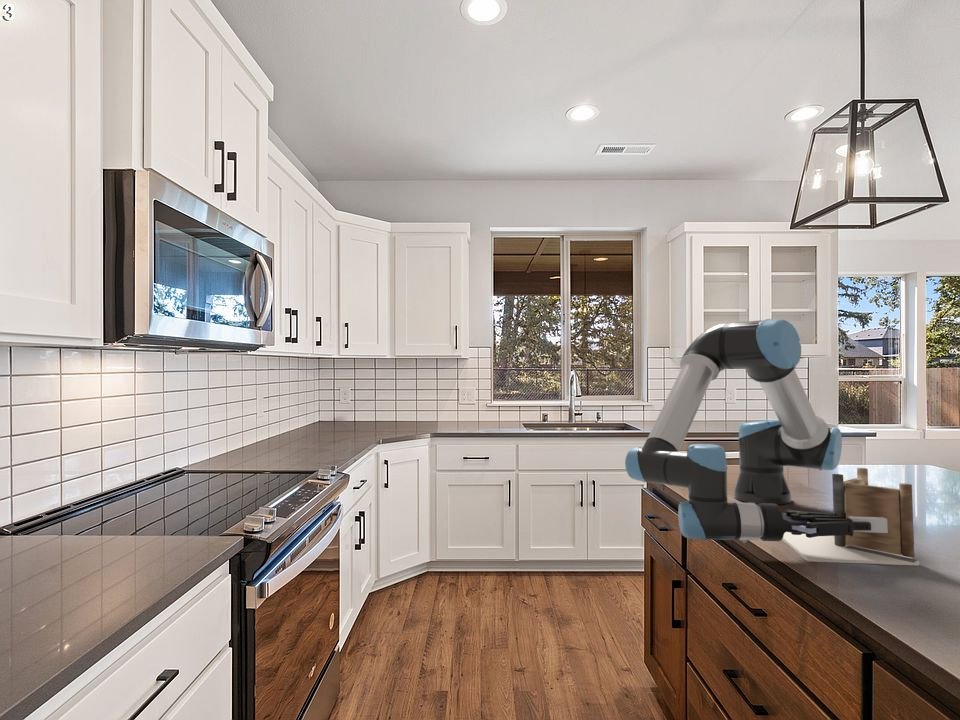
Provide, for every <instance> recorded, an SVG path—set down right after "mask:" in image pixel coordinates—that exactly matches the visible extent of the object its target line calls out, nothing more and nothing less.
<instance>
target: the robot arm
mask: <svg viewBox="0 0 960 720" xmlns="http://www.w3.org/2000/svg"><path fill="white" fill-rule="evenodd" d="M800 340H801V339H800V336H799V333H798V331H797V329H796V328H795V326H794V324H792V323H791V322H789V321H787V320H785V319H772V318H767V319H763V320H751V321H750V320H749V321H739V322H726V323H725V322H724V323H719V324H715V325H714V326H711V327H710V328H707V330H706V329H705V331H704V332H703V333H701V334H700V335H698V336H697V337H696V338H695V339H694V340H693V341H692V343H691V344H690V345H688V347H687V348H686V350H685V351H684V353H683V355H682V357H681V359H680V362H679V366H680V370H679V372H678V375H677V377H676V379H675V382H674V383H673V385H672V387H671V389H670V392H669V393H668V395H667V398H666V400H665V401H664V403H663V406H662V407H661V410H660V411H659V413H658V416H657V418H656V420H655V421H654V424H653V426H652V428H651V430H650V432H649V434H648V436H647V439H646V440H645V442H644V444H643V446H642V447H641V446H638V447H632V448H631V449H630V450H628V452H627V453H626V456H625V460H624V461H625V462H624V467H625V471H626V473H627V475H628V477H629V478H630V479H632V480H634V481H635V480H636V481H638V482H644V483H646V484H647V483H648V484H649V483H651V484H652V483H653V484H659V485H667V486H673V487H679V488H686V489H687V490H688V500H686V501H681V502H679V504H678V508H677V509H678V511H677V517H678V519H677V520H678V526H679V531H680V533H681V534H682V536H683V537H684V538H687V539H698V540H703V541H706V540H711V541H712V540H715V541H719V540H720V541H721V540H723V541H730V540H731V541H741V542H742V543H743V544H745V543H747V541H757V542H758V541H759V540H761V541H762V542H781V541H783V540H782V539H783V535H784V533H785V532H791V534H793V535H801V534H806V537H808V538H812V537H817V536H840V535H849V536H853V532H873V533H888V528H887V519H886V518H884V517H852V516H848V518H846V513H845V512H841V516H839V514H837V513H834V512H833V513H831V512H817V511H805V510H804V511H803V510H792V509H784V512H782V509H781V508H780V506H779V505H786V504H790V503H792V493H791V490H790V488H789V485H788V482H787V480H786V476H785V473H784V472H785V471H784V467H791V468H792V467H794V468H801V469H810V470H819V471H833V470H835V469H837V467H838V466H839V464H840V462H841V461H840V460H841V455H842V450H843V449H842V447H843V446H842V445H843V444H842V443H843V439H842V437H843V436H842V431H841V429H840V428H838V427H834V426H832V427H829V425H828V424H827V422H826V421H825V420H824V419H823V418H821V417H820V416H818V415H816V413H815V411H814V408H813V407H812V404H811V402H810V400H809V398H808V395H807V394H806V391H805V389H804V387H803V384H802V382H801V379H800V378H799V376H798V373H797V372H796V368H797V365H798V364H799V362H800V360H801V357H802V344H801V343H800ZM723 370H745V371H746V374H747V375H748V377H749V378H750V379H751V380H753V381H754V382H756V383H759V384H760V386H761V389H762V390H763V392H764V394H765V396H766V397H767V400H768V402H769V404H770V406H771V407H772V409H773V410H772V411H774V413H775V415H776V417H777V419H769V420H759V421H752V422H751V421H750V422H744V423H742V424H740V425H739V427H738V438H737V439H738V451H739V452H738V453H739V473H738V477H737V480H736V483H735V486H734V490H733V491H734V492H733V497H734V498H735V499H736V500H738V501H742V502H728V465H727V457H726V456H727V455H726V450H725V448H724V447H723V446H721V445H719V444H712V443H692V444H690V445H688V447H687V450H686V451H680V450H681V447H682V445H684V444H683V443H684V442H685V439H686V436H687V435H688V433H689V430H690V428H691V426H692V424H693V421H694V419H695V417H696V415H697V413H698V410H699V408H700V406H701V404H702V401H703V399H704V397H705V396H706V395H705V394H706V393H707V391H708V388H709V386H710V384H711V382H712V381H714V380H716V379H717V378H718V377H719V374H720V372H722V371H723Z"/></svg>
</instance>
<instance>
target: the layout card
mask: <svg viewBox="0 0 960 720" xmlns="http://www.w3.org/2000/svg"><path fill="white" fill-rule="evenodd" d="M781 541H783V542H784V543H785V544H786V545H787V546H789V547H790V548H791V549H792V550H794V551H795V552H796V553H797V554H798V555H799V556H800V557H802V558H803V559H804V560H805V561H807V562H817V563H840V564H841V563H843V564H844V563H845V564H846V563H847V564H868V565H869V564H870V565H871V564H873V565H894V566H895V565H896V566H919V565H921V564H920V562H921V561H918V559H914V557H906V556H903V555H899V554H894V553H888V552H883V551H878V550H873V549H868V548H863V547H858V546H853V545H847V544H846V546H843V547H842V546H836V545H835V542H834V536H817V537H812V538H808V537H806V534H801V535H793V534H791V532H785V533H784V535H783V539H782V540H781Z"/></svg>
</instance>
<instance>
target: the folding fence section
mask: <svg viewBox="0 0 960 720" xmlns="http://www.w3.org/2000/svg"><path fill="white" fill-rule="evenodd" d="M845 487H846V488H845V494H846V517H847V518H848V516H852V517H884V518H886V519H887V528H888V533H873V532H853V536H849V535H847V545H853V546H858V547H863V548H868V549H873V550H878V551H883V552H888V553H894V554H899V555H903V556H906V557H911V558H915V535H914V534H915V533H914V510H913V509H914V508H913V505H914V504H913V484H910V483H899V485H898V487H899V488H893V487H883V486H876V485H870V484H868V485H861V484H853V483H846V484H845Z"/></svg>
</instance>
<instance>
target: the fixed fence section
mask: <svg viewBox="0 0 960 720" xmlns="http://www.w3.org/2000/svg"><path fill="white" fill-rule="evenodd" d="M868 469H869V468H866V467H857V468H856V475H857V477H854V478H852V479H847V480H844V474H841V473H832V475H831V477H832V479H831V480H832V500H833V501H832V504H833V505H832V508H833V513H837V514H839V516H841V512H845V513H846V494H845V488H846V487H845V484H846V483H853V484H861V485H869V474H868V473H869V472H868V471H869V470H868ZM846 518H847V517H846ZM834 542H835V545H836V546H842V547H843V546H846V544H847V535H840V536H834Z"/></svg>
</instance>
